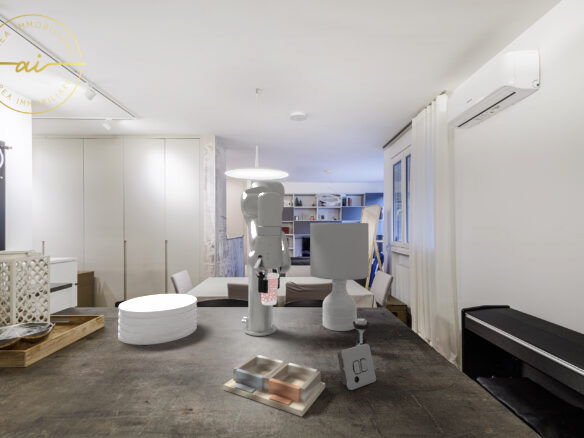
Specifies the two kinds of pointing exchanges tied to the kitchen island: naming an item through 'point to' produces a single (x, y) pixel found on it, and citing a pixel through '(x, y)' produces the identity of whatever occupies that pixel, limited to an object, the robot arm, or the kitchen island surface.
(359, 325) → the push button
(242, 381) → the socket board
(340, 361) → the electrical switch
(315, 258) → the lamp
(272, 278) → the beverage cup
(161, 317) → the plate stack
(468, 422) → the kitchen island surface
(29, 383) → the kitchen island surface
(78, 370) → the kitchen island surface
